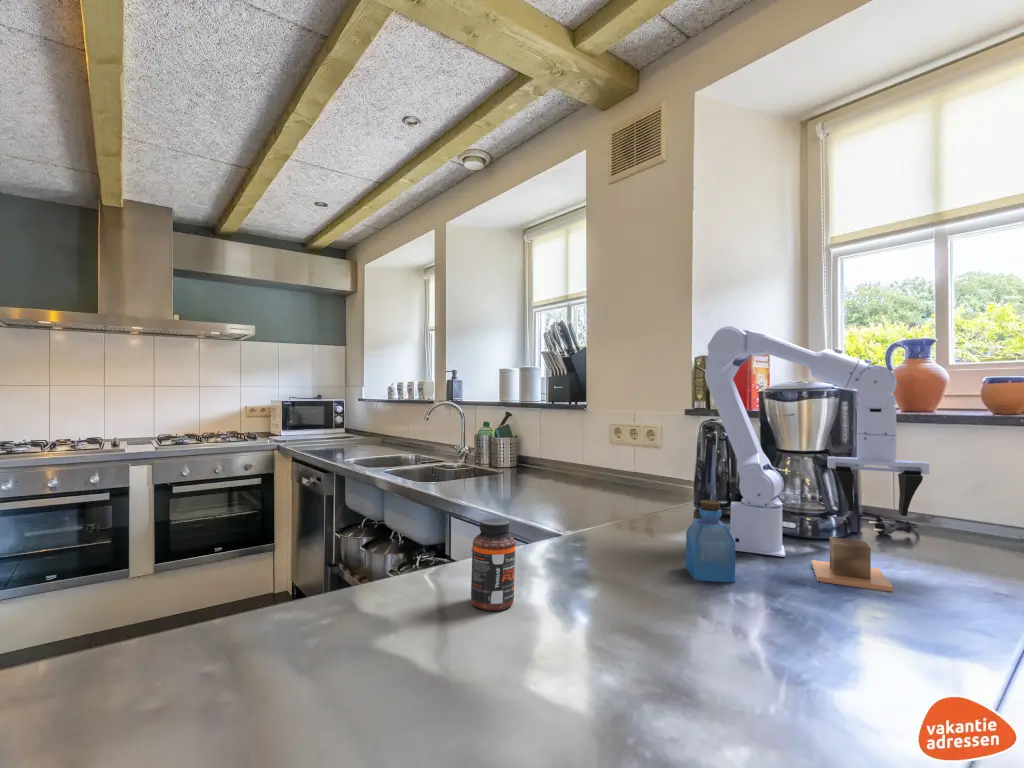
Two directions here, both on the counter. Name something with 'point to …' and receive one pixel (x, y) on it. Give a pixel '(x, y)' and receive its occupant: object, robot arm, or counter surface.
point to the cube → (850, 558)
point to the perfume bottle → (710, 546)
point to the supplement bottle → (493, 566)
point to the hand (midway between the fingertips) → (876, 512)
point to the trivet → (826, 575)
